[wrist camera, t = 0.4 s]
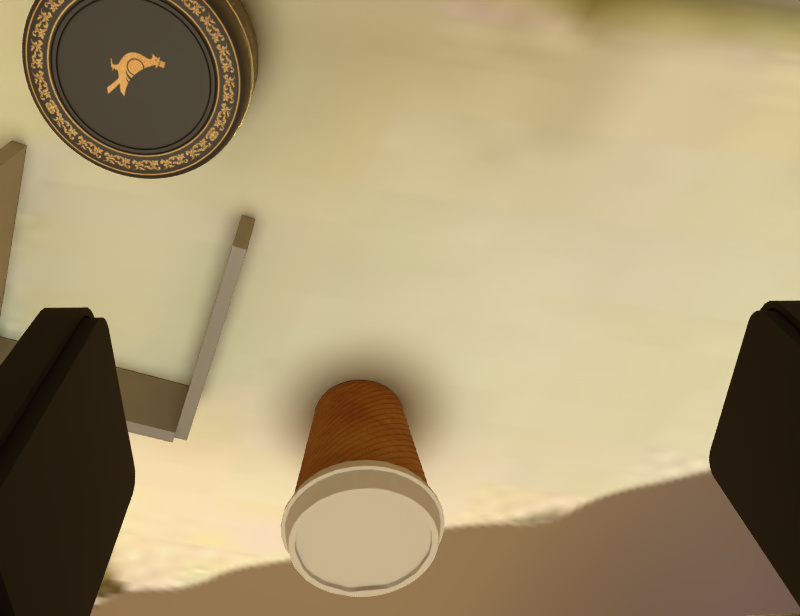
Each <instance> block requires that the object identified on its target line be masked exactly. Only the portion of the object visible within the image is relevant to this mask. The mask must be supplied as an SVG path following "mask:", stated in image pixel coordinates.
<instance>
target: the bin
mask: <svg viewBox="0 0 800 616" xmlns="http://www.w3.org/2000/svg"><path fill="white" fill-rule="evenodd" d="M25 153H26V146H25V145H22V144H19V143H16V142H13V141H11V142H10V143H8V144H7V145H5V146H4V147H3V148H1V149H0V314H1V307H2V301H3V295H4V288H5V282H6V275H7V269H8V262H9V256H10V249H11V243H12V237H13V230H14V224H15V217H16V211H17V204H18V198H19V191H20V185H21V178H22V172H23V166H24V159H25ZM254 222H255V219H252V218H249V217H246V216H243V215H242V218H241V221H240V224H239V227H238V230H237V233H236V237H235V240H234V243H233V246H232V249H231V253H230V256H229V259H228V263H227V266H226V269H225V272H224V276H223V279H222V282H221V285H220V289H219V292H218V295H217V298H216V302H215V305H214V308H213V312H212V315H211V318H210V321H209V325H208V328H207V331H206V334H205V338H204V341H203V344H202V348H201V351H200V354H199V357H198V361H197V364H196V367H195V370H194V374H193V377H192V380H191V384H190V386H187V385H183V384H179V383H175V382H171V381H167V380H164V379H160V378H156V377H152V376H148V375H144V374H141V373H137V372H133V371H129V370H125V369H121V368H118V367H116V371H117V376H118V381H119V387H120V392H121V397H122V403H123V408H124V413H125V419H126V424H127V429H128V432H131V433H136V434H140V435H144V436H148V437H152V438H156V439H160V440H164V441H169V442H173V439H174V437H175V438H179V439H183V440H187V438H188V435H189V432H190V428H191V425H192V422H193V419H194V416H195V413H196V409H197V406H198V403H199V400H200V397H201V394H202V390H203V387H204V384H205V381H206V378H207V375H208V372H209V368H210V365H211V362H212V359H213V356H214V353H215V349H216V346H217V343H218V340H219V337H220V334H221V330H222V327H223V324H224V321H225V318H226V315H227V311H228V308H229V305H230V302H231V299H232V296H233V292H234V289H235V286H236V283H237V280H238V277H239V273H240V270H241V267H242V264H243V261H244V258H245V255H246V251H247V248H248V244H249V240H250V237H251V233H252V229H253V226H254ZM17 342H18V341H14V340H10V339H7V338H3V337H0V365H1V364H2V362H3V361H4V360H5V358H6V357H7V356H8V354H9V353H10V352H11V350H12V349H13V348H14V346H15V345H16V344H17Z"/></svg>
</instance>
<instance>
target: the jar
mask: <svg viewBox="0 0 800 616" xmlns="http://www.w3.org/2000/svg"><path fill="white" fill-rule="evenodd" d="M22 57H23V66H24V72H25V76H26V81H27V84H28V87H29V90H30V92H31V95H32V97H33V100H34V102H35V104H36V106H37V108H38V109H39V111H40V113H41V115H42V116H43V118H44V119H45V121H46V122H47V123H48V125H49V126H50V127H51V129H52V130H53V131H54V132H55V133H56V134H57V135H58V137H59V138H60V139H61V140H62V141H63V142H64V143H66V144H67V145H68V146H69V147H70V148H71V149H73V150H74V151H75V152H76V153H78V154H79V155H81V156H82V157H83V158H85V159H87V160H88V161H90V162H92V163H94V164H95V165H97V166H100V167H102V168H104V169H106V170H109V171H112V172H114V173H118V174H121V175H125V176H130V177H136V178H147V179H157V178H167V177H172V176H177V175H180V174H184V173H186V172H189V171H192V170H194V169H196V168H198V167H200V166H202V165H203V164H205V163H207V162H208V161H209V160H211V159H212V158H213V157H215V156H216V155H217V154H218V153H219V152H220V151H221V150H222V149H223V148H224V147H225V146H226V145H227V144H228V142H229V141H230V140H231V138H232V137H233V136H234V134H235V133H236V131H237V130H238V128H239V127H240V125H241V123H242V121H243V119H244V117H245V115H246V113H247V110H248V107H249V104H250V101H251V97H252V94H253V91H254V88H255V84H256V79H257V72H258V50H257V43H256V38H255V34H254V31H253V28H252V25H251V22H250V20H249V17H248V15H247V13H246V11H245V9H244V8H243V6H242V4H241V3H240V1H239V0H35V1H34V3H33V5H32V7H31V10H30V12H29V14H28V17H27V20H26V24H25V28H24V34H23V42H22Z"/></svg>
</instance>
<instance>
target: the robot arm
mask: <svg viewBox="0 0 800 616" xmlns="http://www.w3.org/2000/svg"><path fill="white" fill-rule="evenodd" d="M709 463H710V468H711V472H712V474H713V476H714V478H715V479H716V481H717V482H718V484H719V485H720V487H721V488H722V490H723V492H724V493H725V494H726V496H727V498H728V499H729V500H730V502H731V504H732V505H733V507H734V508H735V510H736V511H737V512H738V514H739V516H740V517H741V519H742V520H743V521H744V523H745V525H746V526H747V528H748V529H749V531H750V532H751V534H752V535H753V537H754V538H755V540H756V541H757V543H758V544H759V546H760V547H761V549H762V550H763V552H764V553H765V555H766V556H767V558H768V559H769V561H770V562H771V564H772V566H773V567H774V568H775V570H776V572H777V573H778V575H779V576H780V578H781V579H782V580H783V582H784V584H785V585H786V587H787V588H788V589H789V591H790V593H791V594H792V596H793V597H794V599H795V600H796V602H797V603H798V605H799V606H800V301H769V302H767V303H765V304H764V306H763V307H762V308H761V310H760V311H756V312H754V313H753V314H752V315H751V317H750V319H749V322H748V325H747V328H746V332H745V335H744V338H743V342H742V345H741V349H740V352H739V355H738V359H737V362H736V365H735V369H734V372H733V376H732V379H731V382H730V386H729V389H728V392H727V396H726V399H725V402H724V406H723V409H722V413H721V416H720V419H719V423H718V426H717V429H716V433H715V436H714V440H713V443H712V446H711V450H710V455H709ZM134 484H135V467H134V461H133V456H132V451H131V445H130V440H129V435H128V429H127V424H126V419H125V413H124V408H123V403H122V397H121V392H120V387H119V381H118V376H117V371H116V365H115V360H114V355H113V349H112V344H111V339H110V333H109V328H108V325H107V322H106V320H105V319H104V318H94V315H93V313H92V311H91V310H90V309H89V308H44V309H43V310H41V311H40V313H39V314H38V315H37V317H36V318H35V319H34V321H33V322H32V323H31V325H30V326H29V327H28V329H27V330H26V331H25V333H24V334H23V335H22V337H21V338H20V340H19V341H18V342H17V344H16V345H15V346H14V348H13V349H12V350H11V352H10V353H9V354H8V356H7V357H6V358H5V360H4V361H3V362H2V364H1V365H0V616H90V614H91V611H92V608H93V605H94V602H95V599H96V597H97V594H98V591H99V588H100V585H101V582H102V579H103V577H104V574H105V571H106V568H107V565H108V562H109V560H110V557H111V554H112V551H113V548H114V545H115V543H116V540H117V537H118V534H119V531H120V528H121V526H122V523H123V520H124V517H125V514H126V511H127V508H128V506H129V503H130V500H131V497H132V494H133V490H134ZM756 616H758V615H756ZM759 616H800V614H785V615H784V614H782V615H759Z"/></svg>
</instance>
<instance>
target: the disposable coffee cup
mask: <svg viewBox="0 0 800 616" xmlns="http://www.w3.org/2000/svg"><path fill="white" fill-rule="evenodd" d="M443 531H444V515H443V510H442V506H441V504H440V502H439V500H438V498H437V496H436V495H435V493H434V492H433V491H432V490H431V488H430V487H429V486H428V484H427V480H426V478H425V475H424V472H423V469H422V466H421V463H420V460H419V457H418V454H417V451H416V448H415V445H414V442H413V439H412V436H411V434H410V430H409V427H408V424H407V421H406V418H405V415H404V412H403V409H402V405H401V403H400V401H399V399H398V398H397V396H396V395H395V394H394V393H393V392H392V391H391V390H389V389H388V388H387V387H385V386H382V385H380V384H378V383H375V382H372V381H363V380H358V381H349V382H344V383H342V384H339V385H337V386H335V387H333V388H332V389H330V390H329V391H328V392H326V393H325V394H324V395H323V396H322V398H321V399H320V400H319V402H318V404H317V407H316V410H315V415H314V419H313V423H312V426H311V430H310V434H309V438H308V442H307V446H306V450H305V454H304V458H303V461H302V466H301V470H300V473H299V478H298V481H297V486H296V489H295V493H294V495H293V496H292V498H291V499H290V501H289V502H288V504H287V505H286V507H285V510H284V514H283V518H282V522H281V535H282V540H283V543H284V546H285V549H286V550H287V552H288V553H289V555H290V557H291V560H292V562H293V565H294V567H295V568H296V570H297V571H298V572H299V573H300V574H301V575H302V576H303V577H304V578H305V580H307V581H308V582H310V583H312V584H313V585H315V586H316V587H318V588H320V589H323V590H325V591H328V592H331V593H335V594H341V595H346V596H352V597H361V596H363V597H364V596H374V595H381V594H385V593H388V592H392V591H395V590H397V589H400V588H402V587H404V586H405V585H407V584H409V583H411V582H413V581H414V580H416V579H417V578H418V577H419V576H420V575H421V574H422V573H423V572H424V571H425V570H427V568H428V567H429V566H430V564H431V562H432V561H433V560H434V557H435V555H436V552H437V549H438V545H439V543H440V541H441V539H442V535H443Z"/></svg>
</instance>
